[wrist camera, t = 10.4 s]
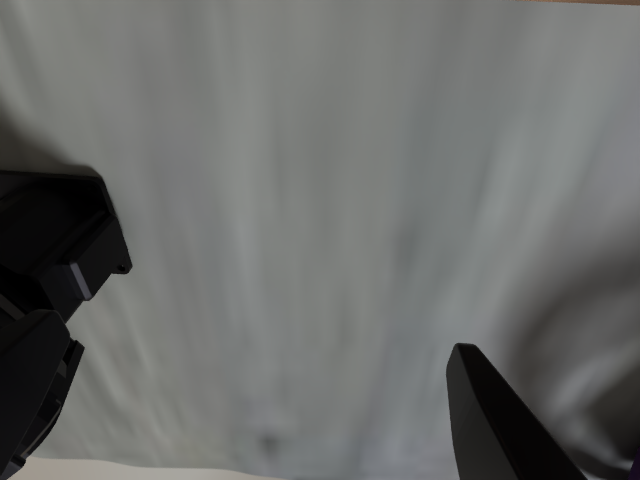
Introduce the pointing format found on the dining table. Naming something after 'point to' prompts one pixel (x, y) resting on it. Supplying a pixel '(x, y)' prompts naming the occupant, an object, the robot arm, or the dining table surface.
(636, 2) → the bay
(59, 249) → the robot arm
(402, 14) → the dining table surface
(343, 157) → the dining table surface
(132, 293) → the dining table surface
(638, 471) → the decorative bottle
